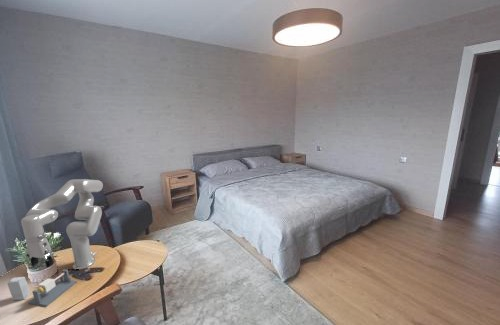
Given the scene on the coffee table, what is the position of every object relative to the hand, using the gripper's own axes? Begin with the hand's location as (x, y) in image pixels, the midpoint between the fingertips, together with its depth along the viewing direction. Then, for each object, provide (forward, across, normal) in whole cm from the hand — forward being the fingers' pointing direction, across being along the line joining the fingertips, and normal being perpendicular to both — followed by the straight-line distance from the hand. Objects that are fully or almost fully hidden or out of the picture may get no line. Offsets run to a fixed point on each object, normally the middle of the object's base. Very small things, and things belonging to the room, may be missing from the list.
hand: (42, 265), depth 124 cm
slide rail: (+20, 0, -2) cm, 20 cm away
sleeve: (+15, 0, 0) cm, 15 cm away
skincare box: (+20, +15, +4) cm, 25 cm away
